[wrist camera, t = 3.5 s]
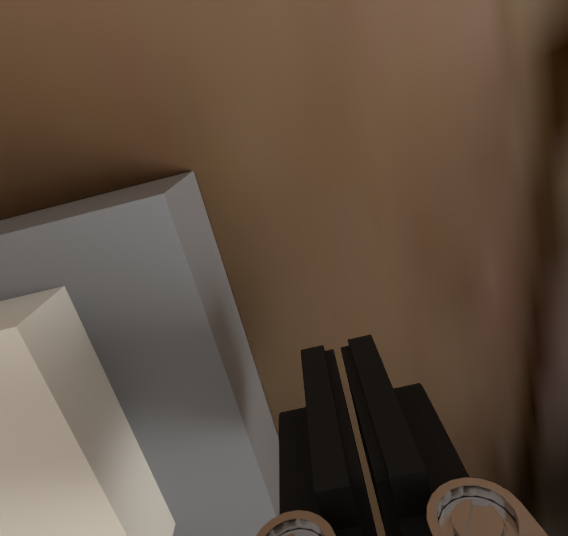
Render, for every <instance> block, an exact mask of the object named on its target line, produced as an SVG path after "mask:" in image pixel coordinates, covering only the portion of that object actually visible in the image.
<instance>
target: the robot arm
mask: <svg viewBox="0 0 568 536" xmlns="http://www.w3.org/2000/svg"><path fill="white" fill-rule="evenodd" d="M348 343H349V346H346V347H341V352H342V356H343V360H344V365H345V369H346V373H347V378H348V382H349V386H350V391H351V395H352V399H353V404H354V408H355V412H356V417H357V421H358V425H359V430H360V434H361V438H362V442H363V447H364V451H365V455H366V459H367V463H368V467H369V470H370V474H371V478H372V482H373V486H374V490H375V494H376V498H377V502H378V506H379V510H380V514H381V518H382V522H383V526H384V530H385V534H386V536H548V535H547V534H546V533H545V531H544V530H543V529H542V528H541V526H540V525H539V524H538V523H537V521H536V520H535V519H534V518H533V517H532V515H531V514H530V513H529V512H528V510H527V509H526V508H525V507H524V506H523V504H522V503H521V502H520V501H519V500H518V499H517V498H516V497H515V496H514V495H513V494H512V493H511V492H509V491H508V490H506V489H505V488H503V487H501V486H499V485H498V484H496V483H493V482H490V481H487V480H483V479H480V478H470V477H469V475H468V473H467V472H466V470H465V468H464V466H463V464H462V462H461V460H460V458H459V456H458V454H457V452H456V450H455V448H454V446H453V444H452V442H451V441H450V439H449V437H448V435H447V433H446V431H445V429H444V427H443V425H442V423H441V421H440V419H439V417H438V415H437V413H436V411H435V410H434V408H433V406H432V404H431V402H430V400H429V398H428V396H427V394H426V392H425V390H424V388H423V387H422V385H421V384H420V383H418V384H413V385H408V386H404V387H399V388H394V389H393V387H392V385H391V382H390V380H389V378H388V375H387V373H386V370H385V368H384V365H383V363H382V360H381V358H380V356H379V353H378V351H377V348H376V346H375V343H374V341H373V338H372V336H371V335H366V336H362V337H357V338H353V339H348ZM301 359H302V369H303V379H304V390H305V400H306V407H305V408H300V409H295V410H290V411H286V412H281V413H280V414H279V516H277V517H275V518H273V519H271V520H270V521H269V522H268V523H267V524H265V525H264V526H263V527H262V528H261V529H260V531H259V532H258V533H257V535H256V536H377V532H376V528H375V524H374V519H373V515H372V511H371V507H370V502H369V498H368V494H367V489H366V485H365V481H364V476H363V472H362V468H361V464H360V459H359V455H358V451H357V446H356V442H355V438H354V434H353V430H352V425H351V421H350V417H349V413H348V409H347V404H346V400H345V396H344V392H343V388H342V383H341V379H340V375H339V371H338V367H337V362H336V358H335V354H334V350H333V349H332V350H327V351H325V350H324V346H323V345H321V346H317V347H312V348H308V349H303V350H301Z"/></svg>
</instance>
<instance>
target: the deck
mask: <svg viewBox="0 0 568 536" xmlns="http://www.w3.org/2000/svg"><path fill="white" fill-rule="evenodd" d="M61 286H65V288H66V290H67V293H68V295H69V297H70V299H71V301H72V303H73V305H74V307H75V310H76V312H77V314H78V316H79V318H80V320H81V322H82V325H83V327H84V329H85V331H86V333H87V335H88V337H89V340H90V342H91V344H92V346H93V348H94V350H95V352H96V355H97V357H98V359H99V361H100V363H101V365H102V367H103V370H104V372H105V374H106V376H107V378H108V380H109V382H110V385H111V387H112V389H113V391H114V393H115V395H116V397H117V399H118V402H119V404H120V406H121V408H122V410H123V412H124V414H125V417H126V419H127V421H128V423H129V425H130V427H131V429H132V432H133V434H134V436H135V438H136V440H137V442H138V444H139V447H140V449H141V451H142V453H143V455H144V457H145V459H146V462H147V464H148V466H149V468H150V470H151V472H152V474H153V476H154V479H155V481H156V483H157V485H158V487H159V489H160V491H161V494H162V496H163V498H164V500H165V502H166V504H167V506H168V509H169V511H170V513H171V515H172V517H173V519H174V521H175V528H174V532H173V536H256V535H257V533H258V532H259V531H260V529H261V528H262V527H263V526H264V525H265V524H267V523H268V522H269V521H270V520H271V519H273V518H275V517H277V516H279V438H278V435H277V432H276V429H275V426H274V423H273V420H272V416H271V413H270V410H269V407H268V404H267V401H266V398H265V394H264V391H263V388H262V385H261V382H260V379H259V376H258V372H257V369H256V366H255V363H254V360H253V357H252V354H251V350H250V347H249V344H248V341H247V338H246V335H245V332H244V328H243V325H242V322H241V319H240V316H239V313H238V310H237V307H236V303H235V300H234V297H233V294H232V291H231V288H230V285H229V281H228V278H227V275H226V272H225V269H224V266H223V263H222V259H221V256H220V253H219V250H218V247H217V244H216V241H215V237H214V234H213V231H212V228H211V225H210V222H209V219H208V215H207V212H206V209H205V206H204V203H203V200H202V197H201V193H200V190H199V187H198V184H197V181H196V178H195V175H194V171H190V172H186V173H182V174H178V175H175V176H171V177H167V178H163V179H159V180H155V181H151V182H147V183H143V184H140V185H136V186H132V187H128V188H124V189H120V190H116V191H112V192H109V193H105V194H101V195H97V196H93V197H89V198H85V199H81V200H77V201H74V202H70V203H66V204H62V205H58V206H54V207H50V208H46V209H43V210H39V211H35V212H31V213H27V214H23V215H19V216H15V217H12V218H8V219H4V220H0V301H4V300H8V299H12V298H16V297H20V296H24V295H28V294H33V293H37V292H41V291H45V290H49V289H53V288H57V287H61Z"/></svg>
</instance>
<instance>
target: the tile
mask: <svg viewBox="0 0 568 536" xmlns="http://www.w3.org/2000/svg"><path fill="white" fill-rule="evenodd" d="M174 528H175V521H174V519H173V517H172V515H171V513H170V511H169V509H168V506H167V504H166V502H165V500H164V498H163V496H162V494H161V491H160V489H159V487H158V485H157V483H156V481H155V479H154V476H153V474H152V472H151V470H150V468H149V466H148V464H147V462H146V459H145V457H144V455H143V453H142V451H141V449H140V447H139V444H138V442H137V440H136V438H135V436H134V434H133V432H132V429H131V427H130V425H129V423H128V421H127V419H126V417H125V414H124V412H123V410H122V408H121V406H120V404H119V402H118V399H117V397H116V395H115V393H114V391H113V389H112V387H111V385H110V382H109V380H108V378H107V376H106V374H105V372H104V370H103V367H102V365H101V363H100V361H99V359H98V357H97V355H96V352H95V350H94V348H93V346H92V344H91V342H90V340H89V337H88V335H87V333H86V331H85V329H84V327H83V325H82V322H81V320H80V318H79V316H78V314H77V312H76V310H75V307H74V305H73V303H72V301H71V299H70V297H69V295H68V293H67V290H66V288H65V286H61V287H57V288H53V289H49V290H45V291H41V292H37V293H33V294H28V295H24V296H20V297H16V298H12V299H8V300H4V301H0V536H173V532H174Z"/></svg>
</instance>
